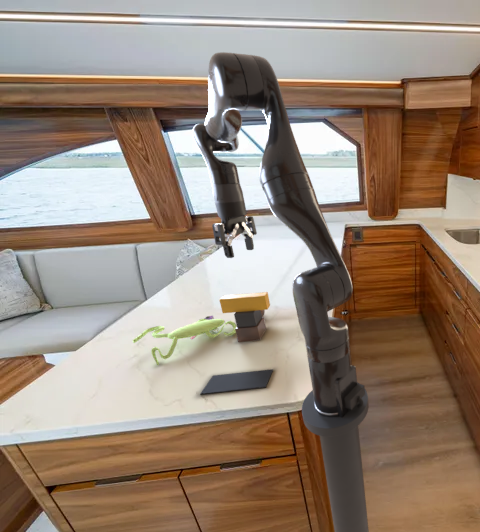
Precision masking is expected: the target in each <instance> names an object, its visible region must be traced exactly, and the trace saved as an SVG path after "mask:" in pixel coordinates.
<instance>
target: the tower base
mask: <svg viewBox="0 0 480 532" xmlns="http://www.w3.org/2000/svg"><path fill="white" fill-rule="evenodd" d="M265 321H266V320H265V317H264V316H263V317H262V318H261V320H260V321H259V323H258V324H257V326H253V327H242V328H237V327H236V328H235V331H236V333H235V334H236V339H237V342H238V343H243V342H252V341H253V342H254V341H261V339H263V338H262V337H263V336H264V335H265V332H266V331H267V325H266V322H265Z"/></svg>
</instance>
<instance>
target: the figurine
mask: <svg viewBox="0 0 480 532" xmlns="http://www.w3.org/2000/svg"><path fill="white" fill-rule="evenodd" d="M225 321H226V320H224V319H223V318H214V315H208V316H205V317H203V318H200V319H198V320H197V321H195V322H193V323H189V324H186V325H183V326H182V327H178V328H177V329H174V330H173V331H171V332H167V333H161V332H162V331H164V330H165V326H163V325H157V326H152V327H148V328H147V329H145V330H144V331H143V332H141V333H140V334H139V335H138V336H136V337H135V338H133V339H132V343H133V344H136V343H137V342H139V341H140V340H142V339H143V338H144V337H145V336H147V334H149V333H150V332H151V336H152V337H153V339H162V338H163V339H165V338H168V339H169V340H172V342H171V345H170V347H169V350H168V352H167V354H163V353H162V352H161V350H160V348H158V347H157V346H153V347H152V348H151V350H150V351H151V356H152V358H153V359H154V361H155V363H156V365H157V366H159V365H160V362H159V361H158V358H157V355H156V351H158V353H159V356H160V358H161V359H163V360H168V359H169V358H171V356H172V355H173V353H174V351H175V349H176V346H177V344H178V340H181V339H186V338H187V339H188V338H190V340H194V339H195V338H196V337H197V336H199V335H203V334H205V335H206V336H207V337H208V338H212V339H214V338H216V337H218V336H219V335H220V334H221V333H222V331H223V330H224V329H225V328H224V327H225V326H226V325H231V326H232V331H231V332H226V331H224V332H223V335H224V336H227V337H230V336H233V335H235V334H236V331H235V328H236V327H237V325H236V322H234V321H232V320H229V321H226V322H225ZM221 326H222V327H221ZM220 327H221V329H220V330H219V328H220ZM211 332H214V333H215V334H212V333H211Z"/></svg>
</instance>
